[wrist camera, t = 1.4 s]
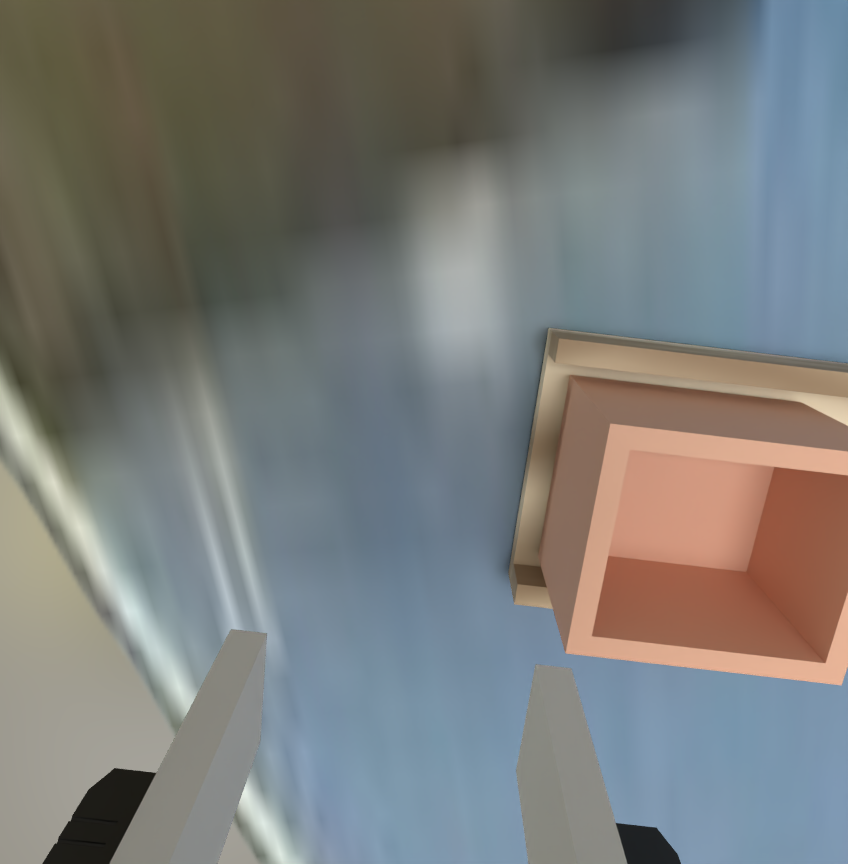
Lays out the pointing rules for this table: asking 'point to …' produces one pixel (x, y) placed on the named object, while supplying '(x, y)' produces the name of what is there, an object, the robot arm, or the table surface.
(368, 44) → the table surface
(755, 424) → the box
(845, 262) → the table surface
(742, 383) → the bay
